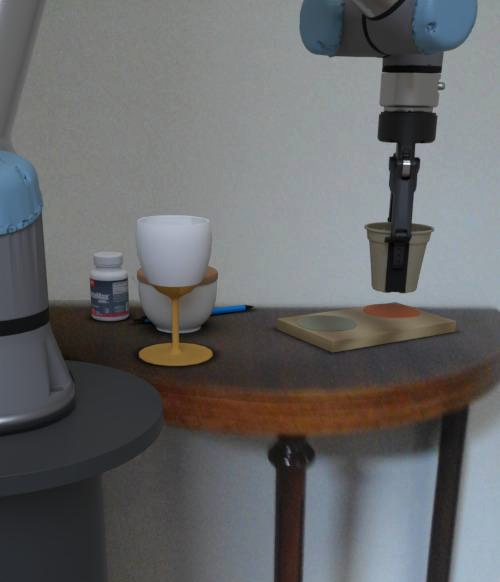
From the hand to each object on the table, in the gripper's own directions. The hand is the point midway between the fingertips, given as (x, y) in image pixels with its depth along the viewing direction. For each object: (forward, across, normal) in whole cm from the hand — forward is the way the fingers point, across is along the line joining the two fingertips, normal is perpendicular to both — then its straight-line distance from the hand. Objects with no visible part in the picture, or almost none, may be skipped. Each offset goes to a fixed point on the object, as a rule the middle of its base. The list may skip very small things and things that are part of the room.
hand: (394, 284), depth 116 cm
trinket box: (+5, -9, +29) cm, 31 cm away
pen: (+5, -2, +28) cm, 29 cm away
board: (+5, -6, +4) cm, 9 cm away
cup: (+5, -22, +26) cm, 35 cm away
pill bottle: (+5, -6, +39) cm, 40 cm away
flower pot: (+1, 0, 0) cm, 1 cm away
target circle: (+4, 0, 0) cm, 4 cm away
